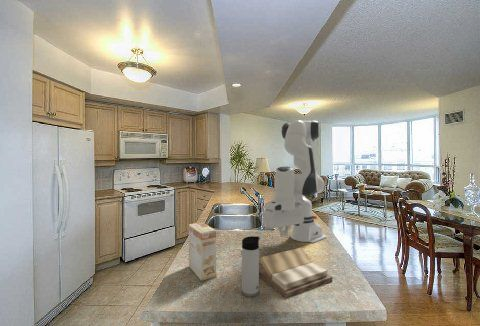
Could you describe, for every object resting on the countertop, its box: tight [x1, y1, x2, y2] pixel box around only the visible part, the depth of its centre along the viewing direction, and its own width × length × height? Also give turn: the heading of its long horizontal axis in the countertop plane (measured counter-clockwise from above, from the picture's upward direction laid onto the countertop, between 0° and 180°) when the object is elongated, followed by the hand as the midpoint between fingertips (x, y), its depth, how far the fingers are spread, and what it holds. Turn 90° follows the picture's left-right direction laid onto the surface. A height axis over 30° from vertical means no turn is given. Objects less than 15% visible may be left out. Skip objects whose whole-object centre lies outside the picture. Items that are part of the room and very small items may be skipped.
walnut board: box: [259, 266, 334, 299], centre depth 94 cm, size 24×20×2 cm
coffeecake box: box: [188, 222, 217, 282], centre depth 98 cm, size 15×7×20 cm, turn 32°
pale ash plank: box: [272, 261, 328, 290], centre depth 90 cm, size 22×8×2 cm, turn 118°
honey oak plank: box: [259, 247, 313, 277], centre depth 97 cm, size 22×8×2 cm
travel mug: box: [241, 235, 261, 298], centre depth 83 cm, size 6×7×20 cm
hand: (284, 235), depth 98 cm, fingers closed
